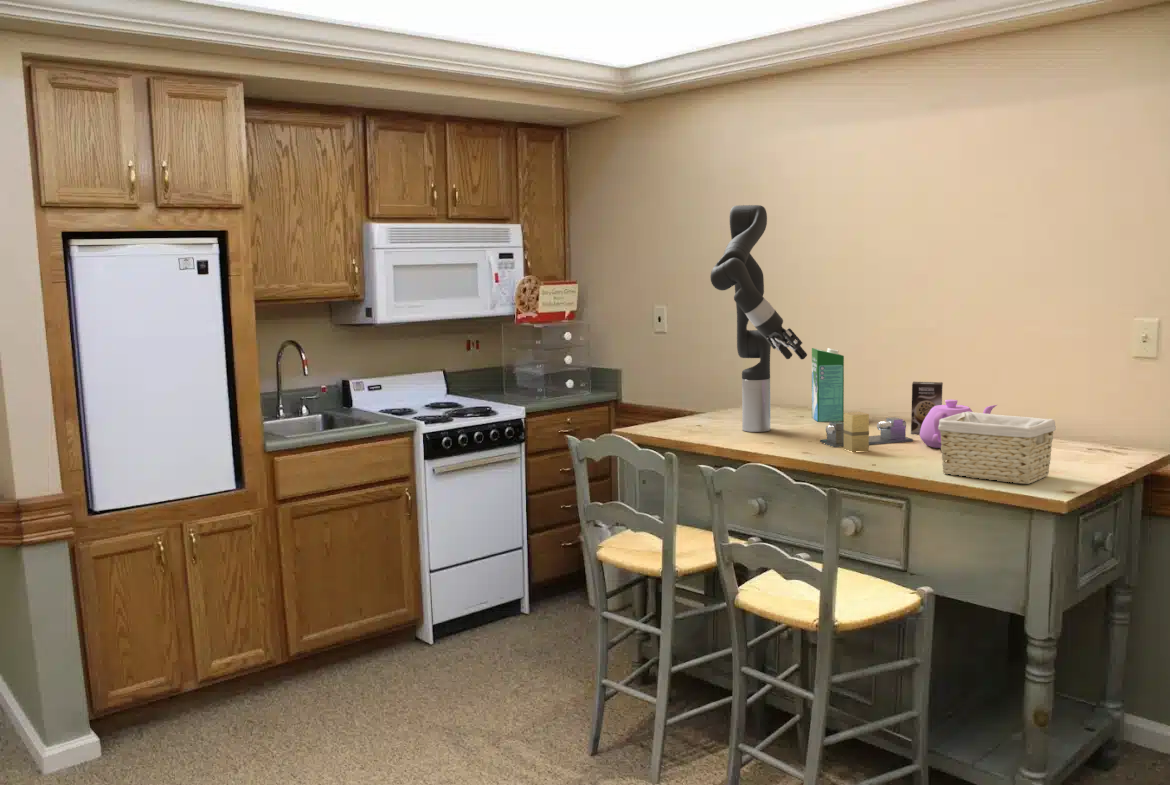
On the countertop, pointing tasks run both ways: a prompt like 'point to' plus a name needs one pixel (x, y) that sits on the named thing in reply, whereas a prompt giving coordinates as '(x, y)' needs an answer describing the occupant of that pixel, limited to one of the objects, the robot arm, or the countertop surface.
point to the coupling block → (856, 431)
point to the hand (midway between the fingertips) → (797, 357)
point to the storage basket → (996, 446)
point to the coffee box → (924, 402)
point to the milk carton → (827, 385)
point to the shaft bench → (889, 433)
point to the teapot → (931, 421)
